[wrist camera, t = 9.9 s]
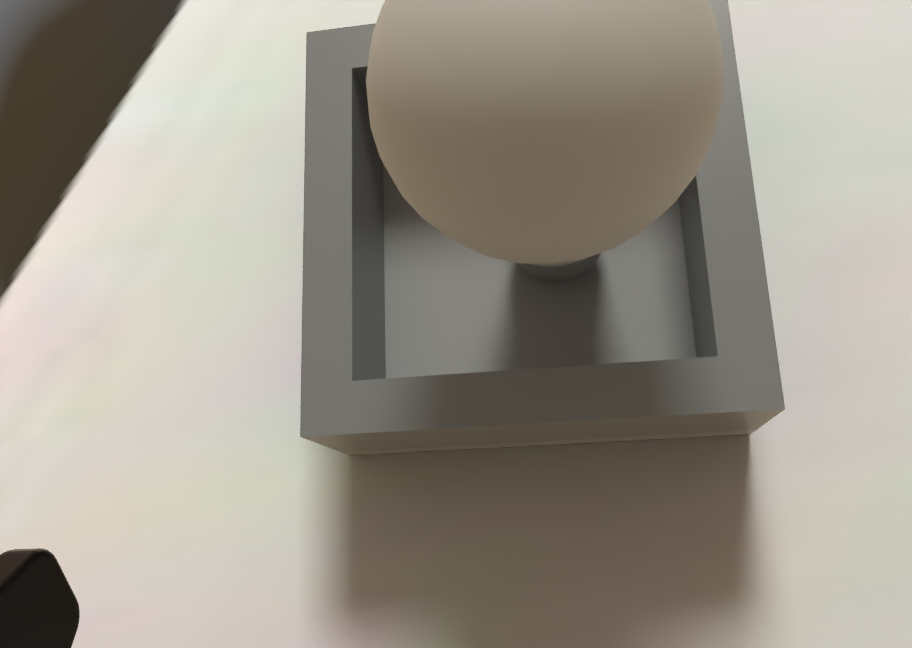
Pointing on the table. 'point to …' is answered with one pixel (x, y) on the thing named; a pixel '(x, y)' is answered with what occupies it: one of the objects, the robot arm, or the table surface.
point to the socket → (522, 303)
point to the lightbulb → (544, 119)
